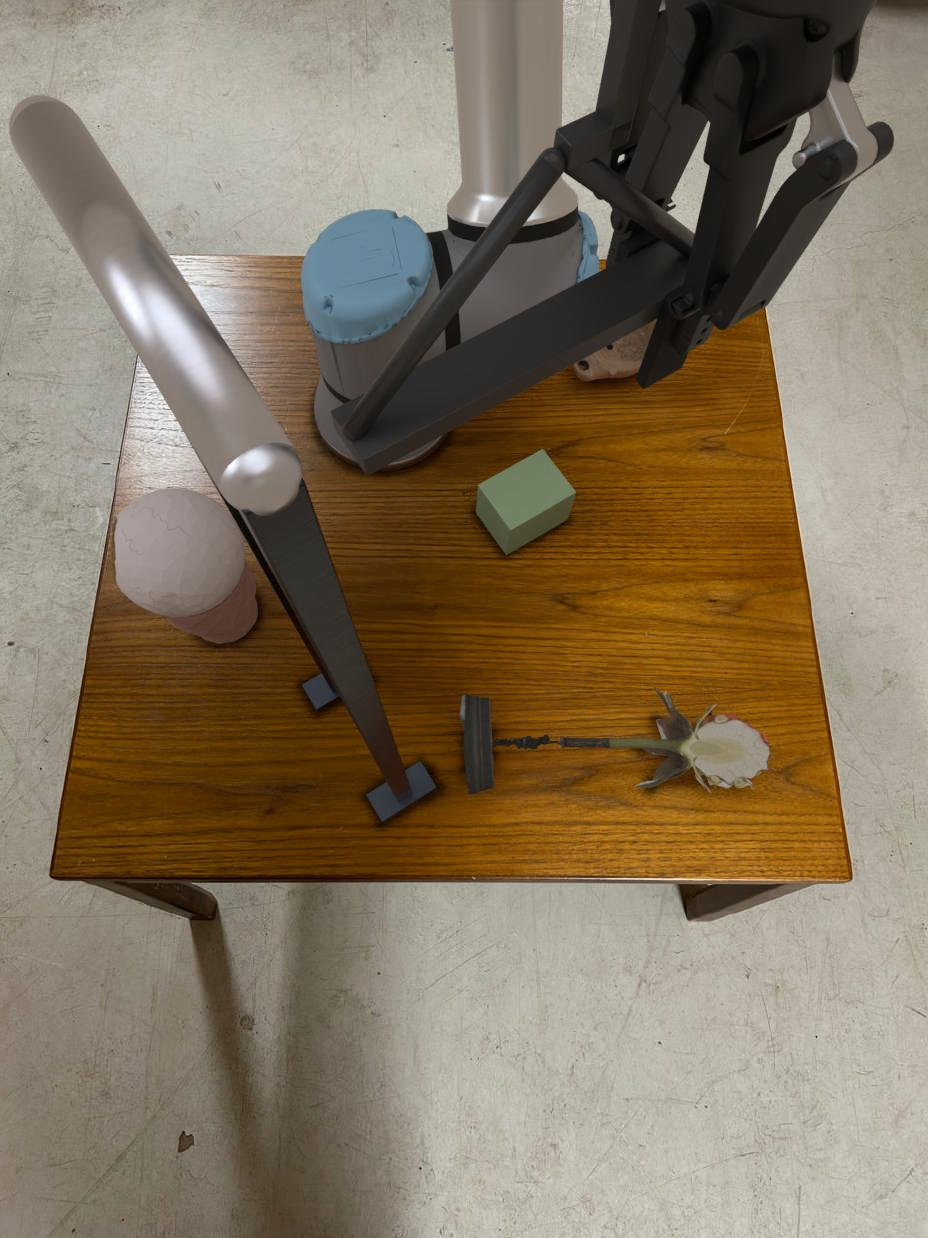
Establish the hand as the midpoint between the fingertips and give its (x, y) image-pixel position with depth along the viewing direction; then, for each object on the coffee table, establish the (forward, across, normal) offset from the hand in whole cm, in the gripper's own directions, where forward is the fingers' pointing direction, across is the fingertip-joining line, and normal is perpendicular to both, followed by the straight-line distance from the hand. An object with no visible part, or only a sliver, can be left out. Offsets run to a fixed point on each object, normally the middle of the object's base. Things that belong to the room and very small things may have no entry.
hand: (638, 349), depth 44 cm
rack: (+39, +2, -23) cm, 46 cm away
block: (+39, -10, +3) cm, 41 cm away
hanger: (-5, 0, -8) cm, 9 cm away
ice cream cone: (+39, -17, -29) cm, 52 cm away
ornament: (+40, +15, -4) cm, 43 cm away
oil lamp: (+39, -21, +24) cm, 51 cm away
